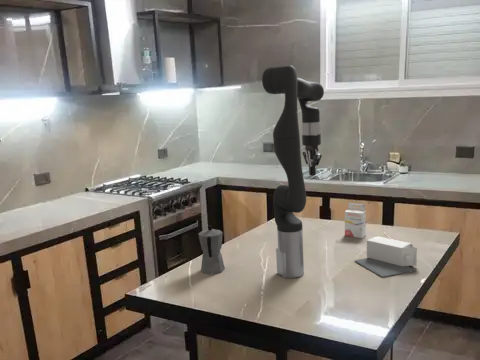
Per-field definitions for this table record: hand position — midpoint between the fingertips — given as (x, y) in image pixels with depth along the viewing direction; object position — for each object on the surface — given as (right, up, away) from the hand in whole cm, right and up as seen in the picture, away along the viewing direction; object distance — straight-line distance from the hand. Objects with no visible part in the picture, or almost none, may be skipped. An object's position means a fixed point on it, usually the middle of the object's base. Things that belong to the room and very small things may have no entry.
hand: (312, 175), depth 194 cm
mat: (+24, -34, -17) cm, 45 cm away
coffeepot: (-40, -37, -12) cm, 56 cm away
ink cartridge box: (+23, -28, +21) cm, 42 cm away
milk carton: (+22, -28, -7) cm, 37 cm away
